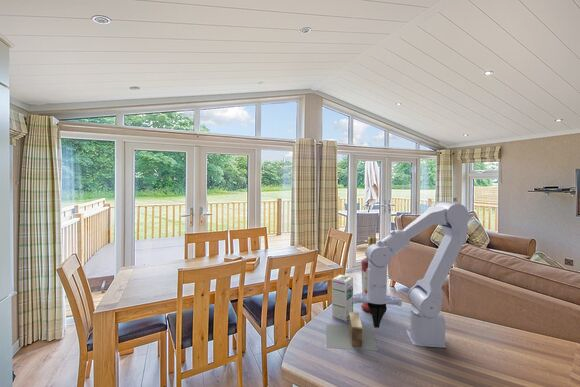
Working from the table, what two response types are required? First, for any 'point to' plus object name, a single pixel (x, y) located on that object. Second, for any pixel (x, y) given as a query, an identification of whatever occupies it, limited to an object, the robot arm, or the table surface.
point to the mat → (341, 338)
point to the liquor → (366, 274)
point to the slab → (355, 329)
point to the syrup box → (342, 297)
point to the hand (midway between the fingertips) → (376, 326)
